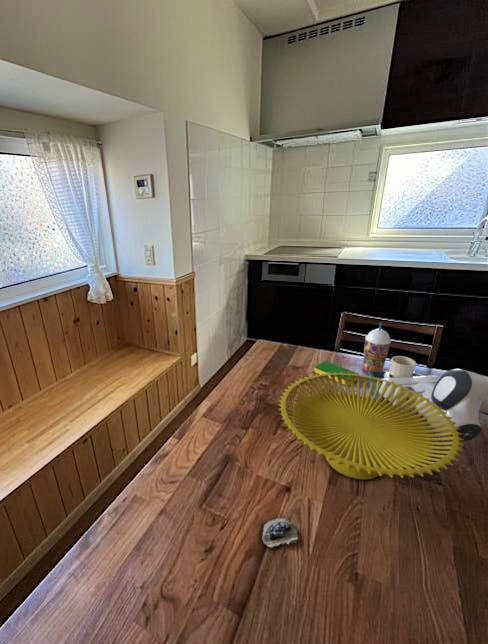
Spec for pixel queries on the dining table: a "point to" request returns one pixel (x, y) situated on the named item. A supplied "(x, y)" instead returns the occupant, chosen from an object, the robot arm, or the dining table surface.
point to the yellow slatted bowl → (368, 428)
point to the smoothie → (376, 349)
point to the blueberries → (279, 532)
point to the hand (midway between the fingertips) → (398, 373)
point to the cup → (402, 367)
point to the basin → (381, 376)
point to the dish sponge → (332, 368)
